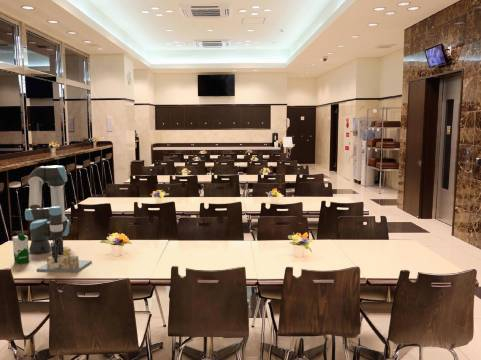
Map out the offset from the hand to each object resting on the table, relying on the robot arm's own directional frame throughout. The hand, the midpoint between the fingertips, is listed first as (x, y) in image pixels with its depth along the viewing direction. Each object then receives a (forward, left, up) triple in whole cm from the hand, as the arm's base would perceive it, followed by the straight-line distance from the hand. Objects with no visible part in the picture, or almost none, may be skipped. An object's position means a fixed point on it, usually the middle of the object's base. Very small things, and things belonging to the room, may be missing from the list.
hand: (58, 266), depth 292 cm
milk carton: (-13, -34, -3) cm, 36 cm away
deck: (-7, +1, -3) cm, 7 cm away
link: (0, +3, -1) cm, 3 cm away
